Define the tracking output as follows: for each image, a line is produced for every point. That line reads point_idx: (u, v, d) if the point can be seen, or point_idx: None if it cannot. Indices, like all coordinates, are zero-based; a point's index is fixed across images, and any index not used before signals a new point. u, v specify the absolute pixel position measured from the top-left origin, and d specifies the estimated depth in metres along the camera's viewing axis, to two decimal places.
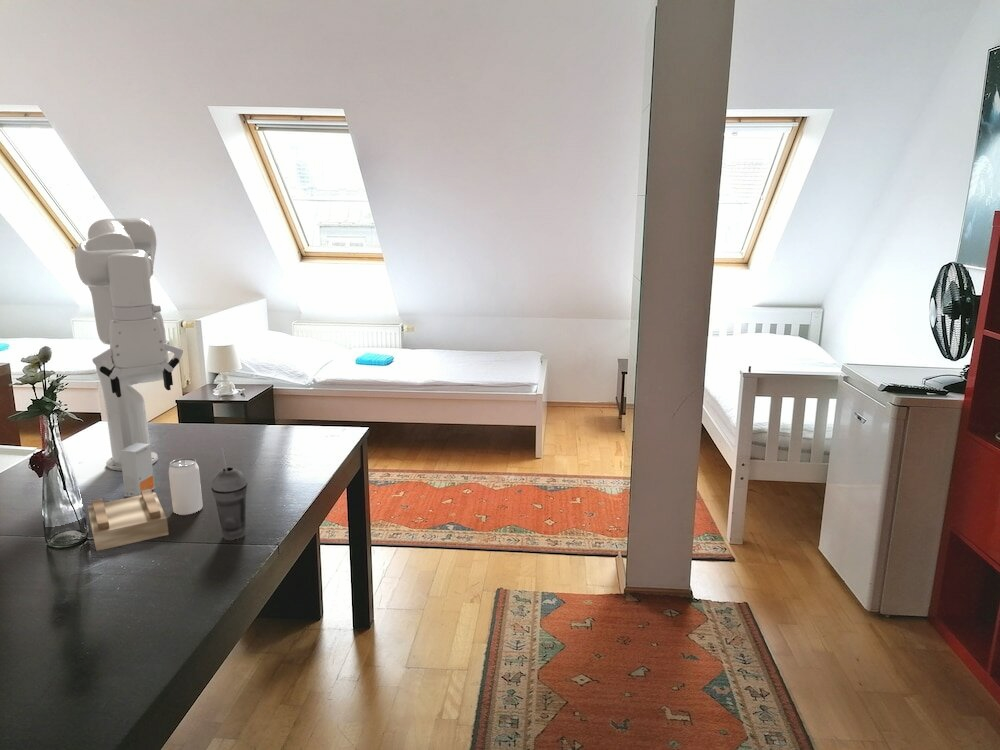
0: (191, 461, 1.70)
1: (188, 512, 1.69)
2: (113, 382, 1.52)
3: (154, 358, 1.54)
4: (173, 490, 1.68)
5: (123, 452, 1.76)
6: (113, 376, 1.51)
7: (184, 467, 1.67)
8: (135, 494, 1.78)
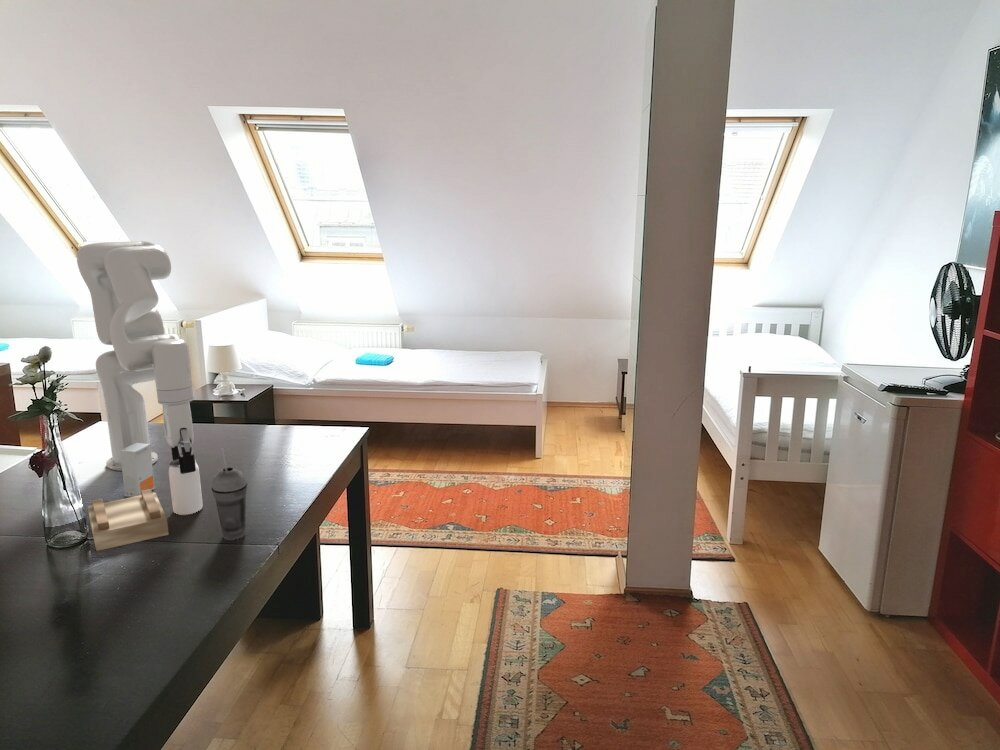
0: None
1: (188, 512, 1.69)
2: (190, 459, 1.64)
3: None
4: (173, 490, 1.68)
5: (123, 452, 1.76)
6: None
7: None
8: (135, 494, 1.78)
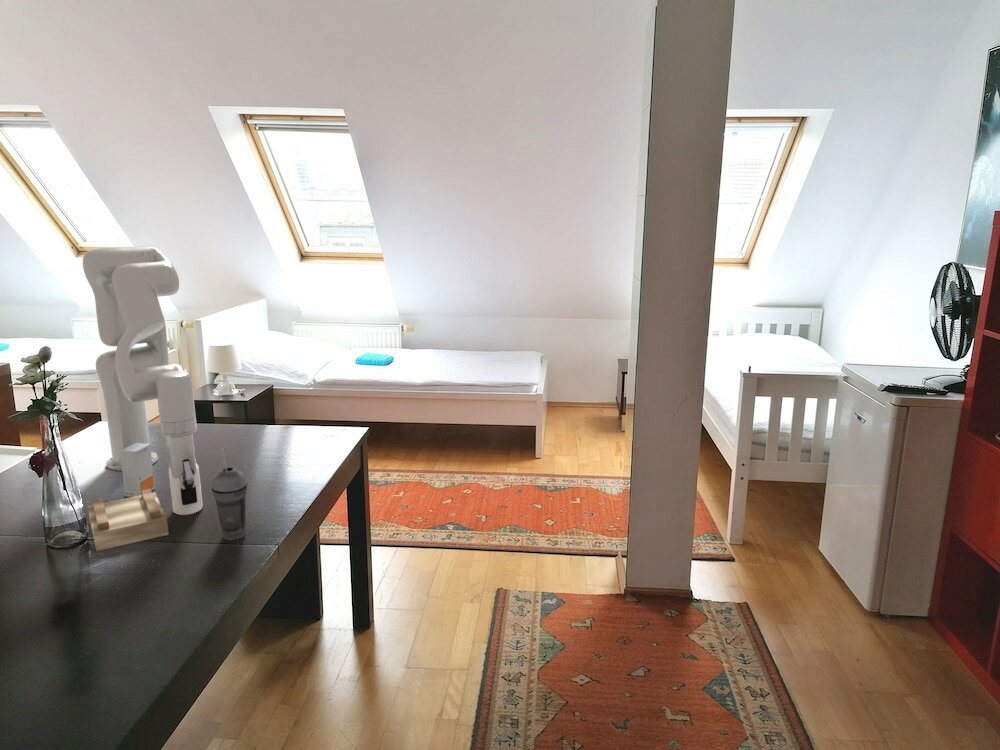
0: None
1: (188, 512, 1.69)
2: (192, 490, 1.68)
3: None
4: (173, 490, 1.68)
5: (123, 452, 1.76)
6: None
7: None
8: (135, 494, 1.78)
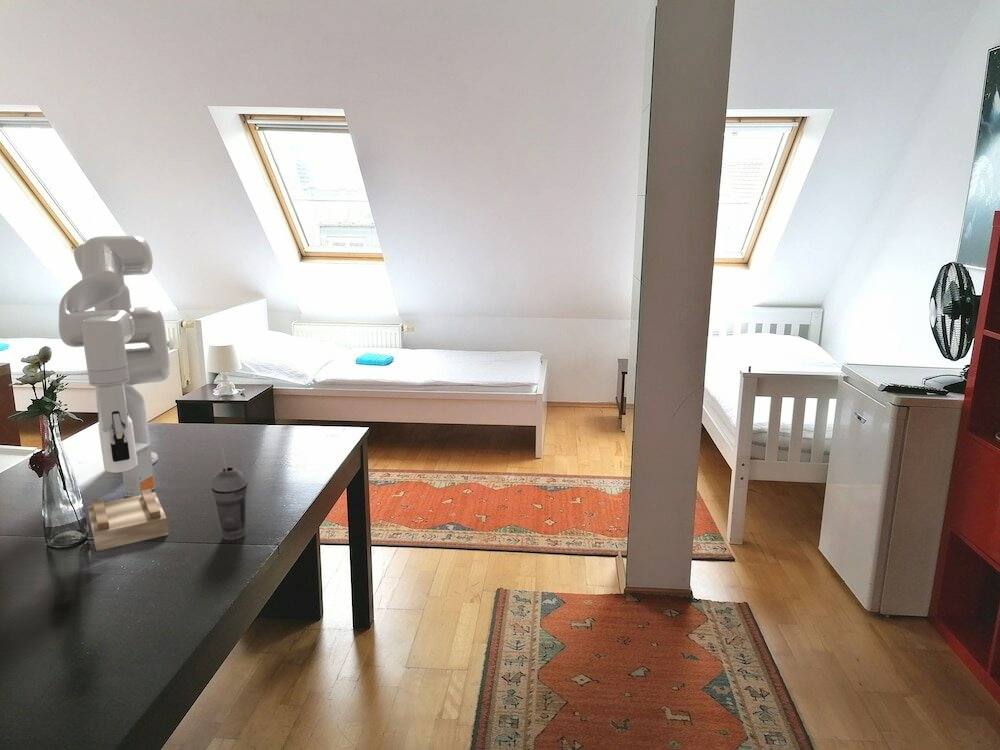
0: None
1: (120, 470, 1.56)
2: (124, 446, 1.55)
3: None
4: (103, 446, 1.55)
5: None
6: None
7: None
8: (135, 494, 1.78)
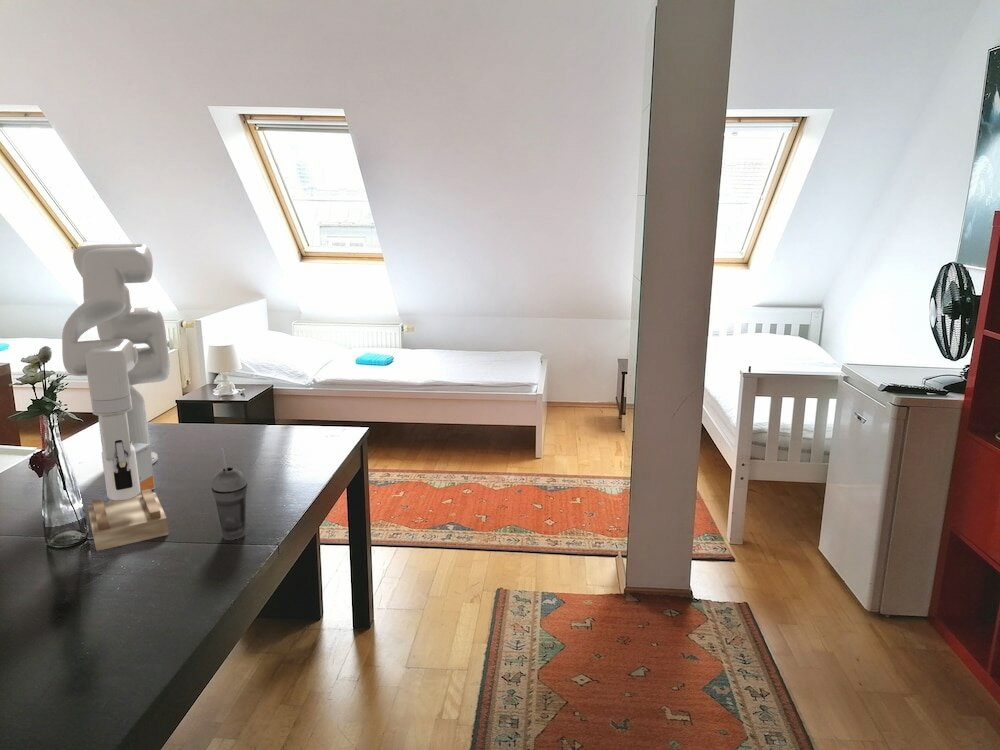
0: None
1: (123, 497, 1.58)
2: (127, 474, 1.56)
3: None
4: (106, 474, 1.56)
5: None
6: None
7: None
8: None
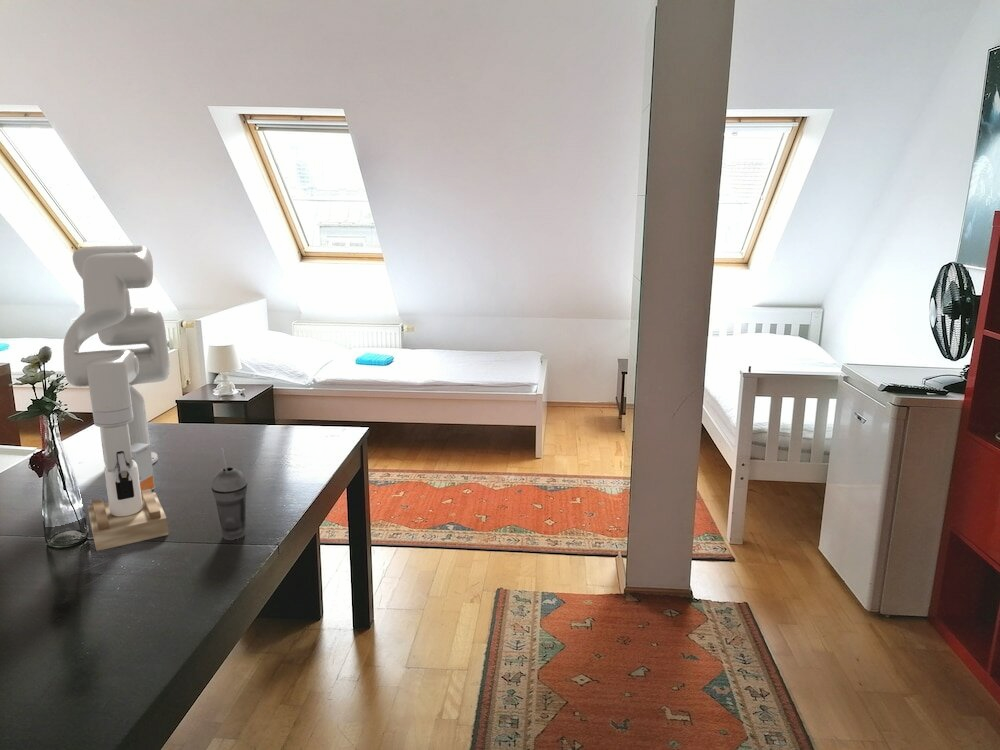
0: None
1: (125, 513, 1.59)
2: (128, 484, 1.56)
3: None
4: (109, 490, 1.58)
5: None
6: None
7: None
8: None
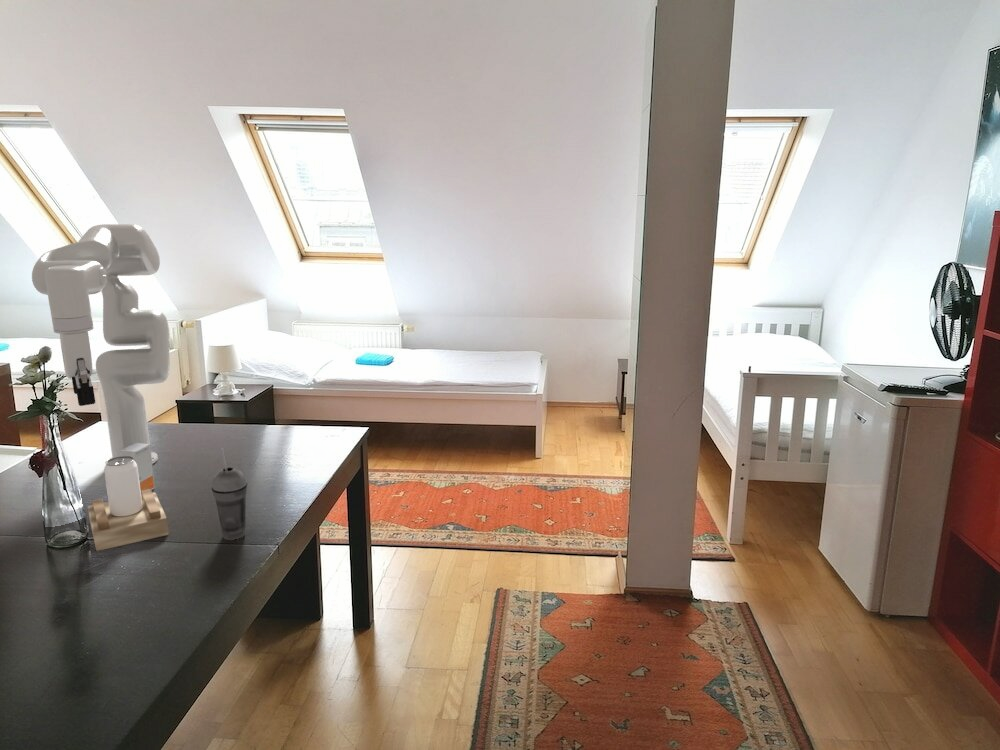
0: (129, 459, 1.60)
1: (125, 513, 1.59)
2: (89, 390, 1.58)
3: None
4: (109, 490, 1.58)
5: (123, 452, 1.76)
6: None
7: (120, 466, 1.57)
8: None
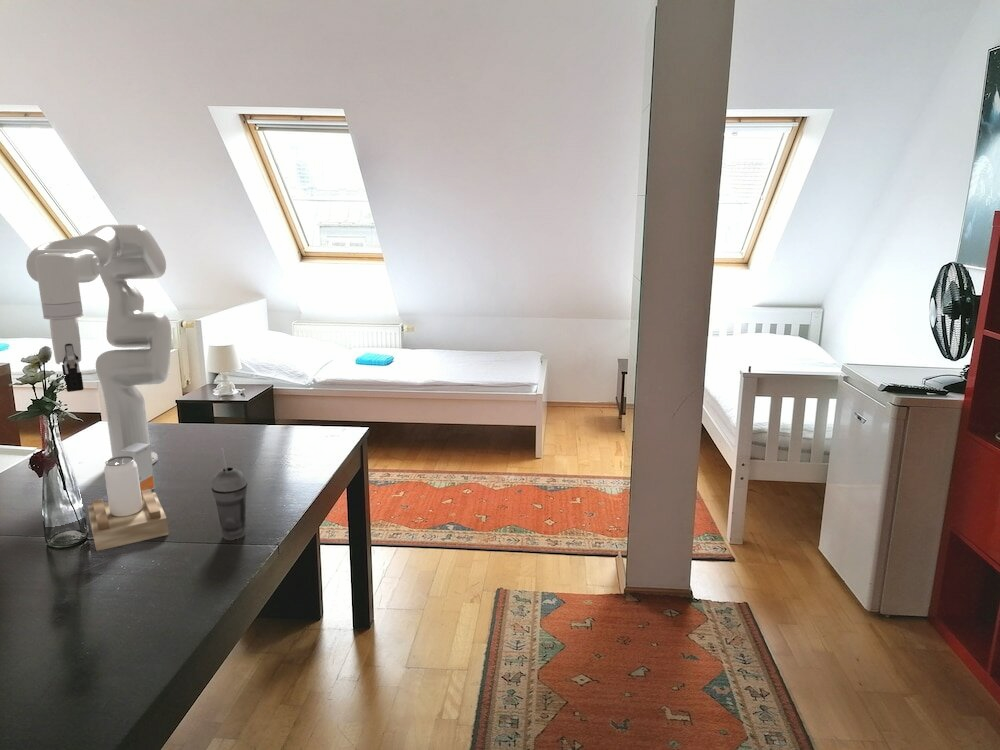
0: (129, 459, 1.60)
1: (125, 513, 1.59)
2: (77, 376, 1.59)
3: None
4: (109, 490, 1.58)
5: (123, 452, 1.76)
6: None
7: (120, 466, 1.57)
8: None
